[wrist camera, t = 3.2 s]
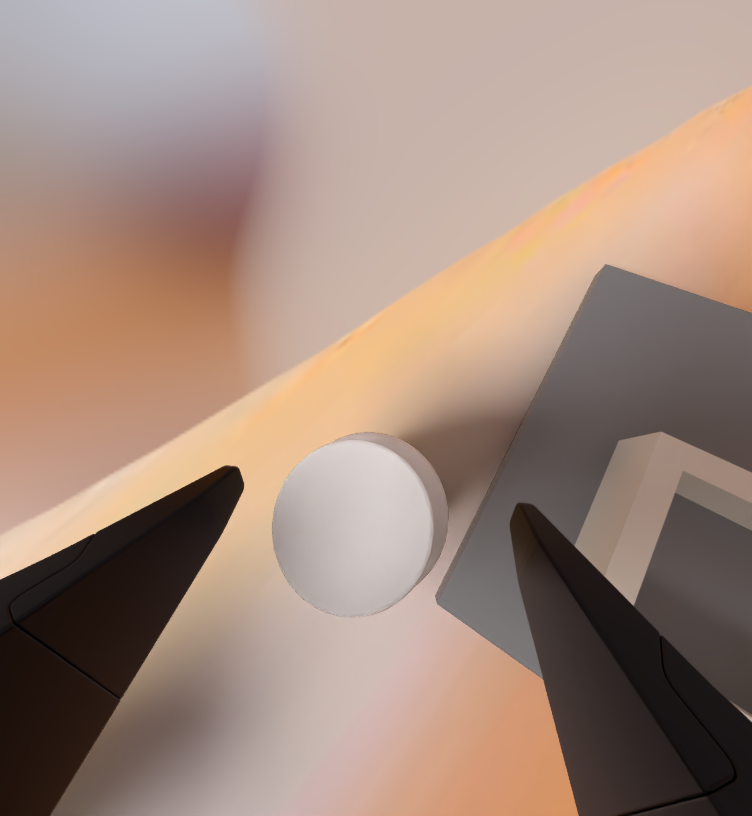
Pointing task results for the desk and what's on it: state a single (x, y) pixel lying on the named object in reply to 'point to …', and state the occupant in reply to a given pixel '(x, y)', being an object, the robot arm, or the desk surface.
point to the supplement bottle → (359, 524)
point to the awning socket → (634, 477)
